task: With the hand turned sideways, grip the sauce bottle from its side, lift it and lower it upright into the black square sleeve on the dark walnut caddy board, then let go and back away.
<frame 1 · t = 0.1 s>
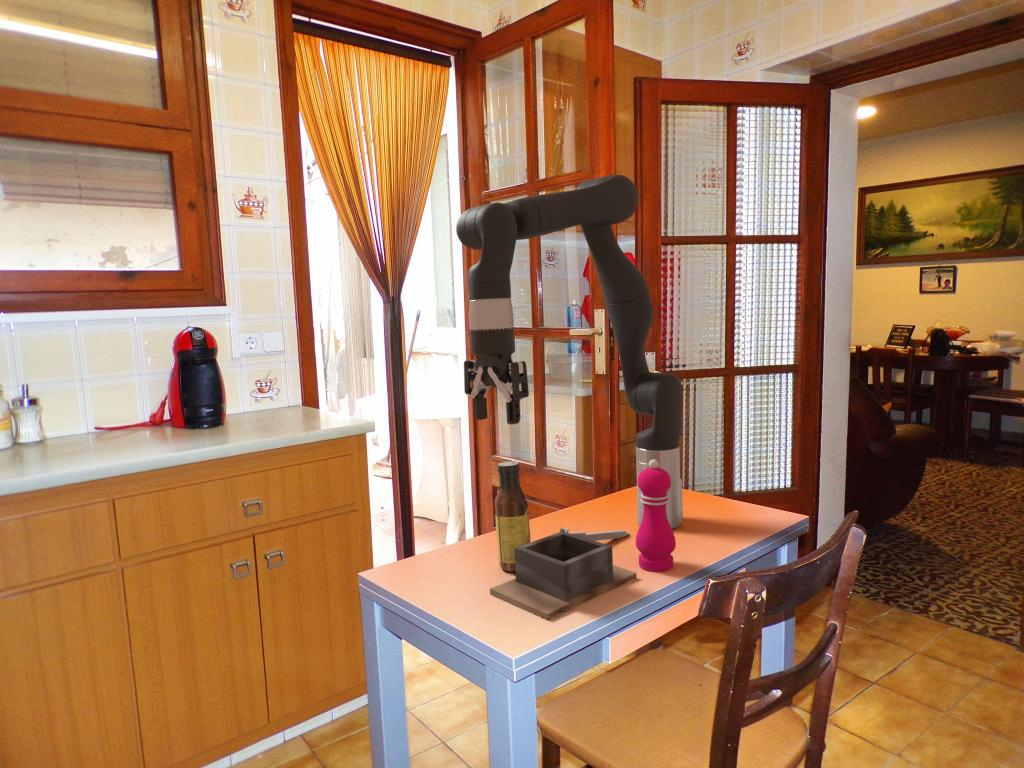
hand: (497, 421, 115), 29 cm above the table, tool pointing down, fingers open, 8 cm apart
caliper: (594, 548, 135), on the table
sauce bottle: (514, 568, 127), on the table
pepper mill: (656, 566, 124), on the table
bottle caddy: (564, 586, 117), on the table
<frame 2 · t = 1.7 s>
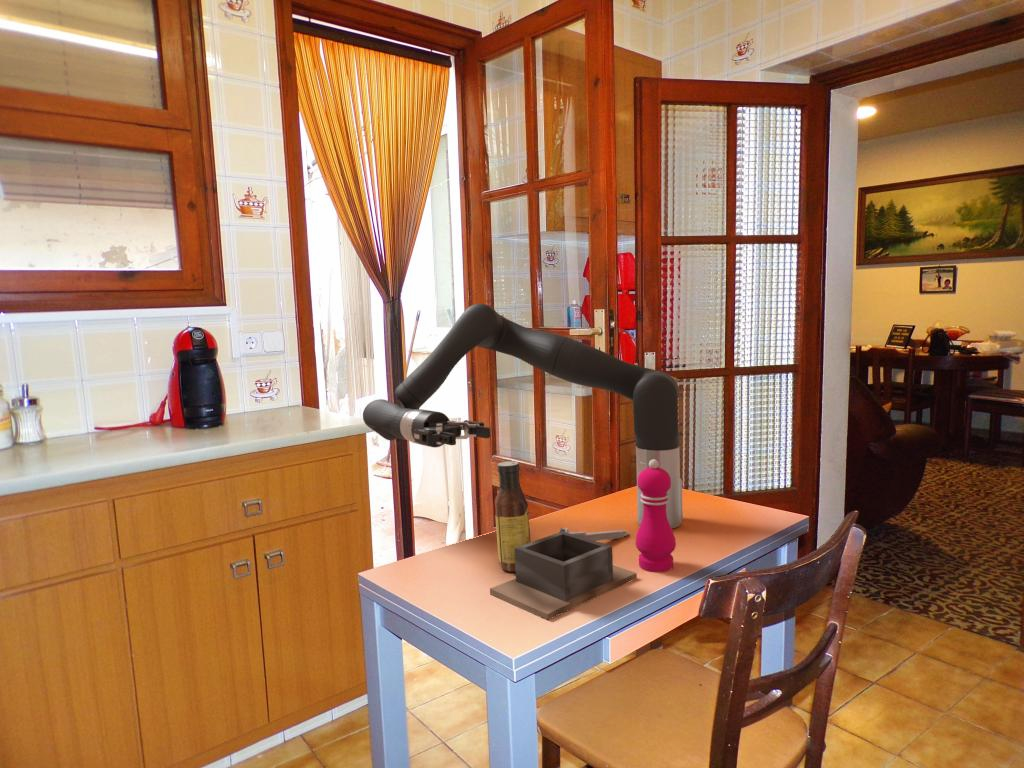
hand: (472, 436, 132), 24 cm above the table, tool horizontal, fingers open, 8 cm apart
nothing on the table moved.
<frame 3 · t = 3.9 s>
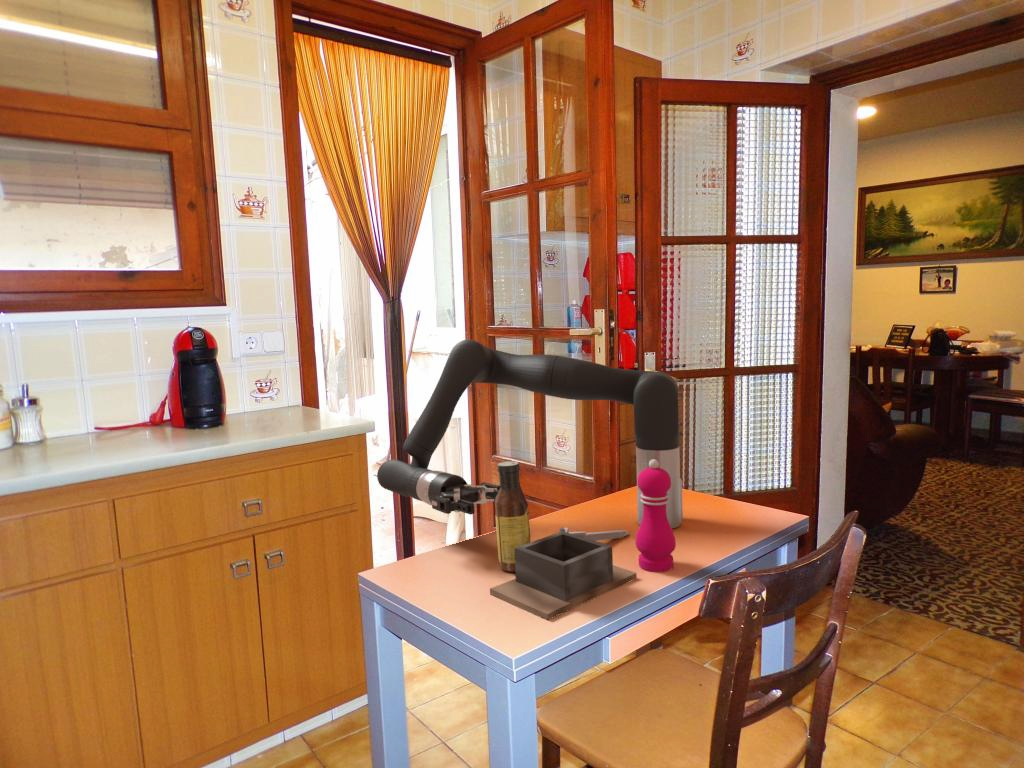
hand: (490, 503, 130), 11 cm above the table, tool horizontal, fingers open, 8 cm apart
nothing on the table moved.
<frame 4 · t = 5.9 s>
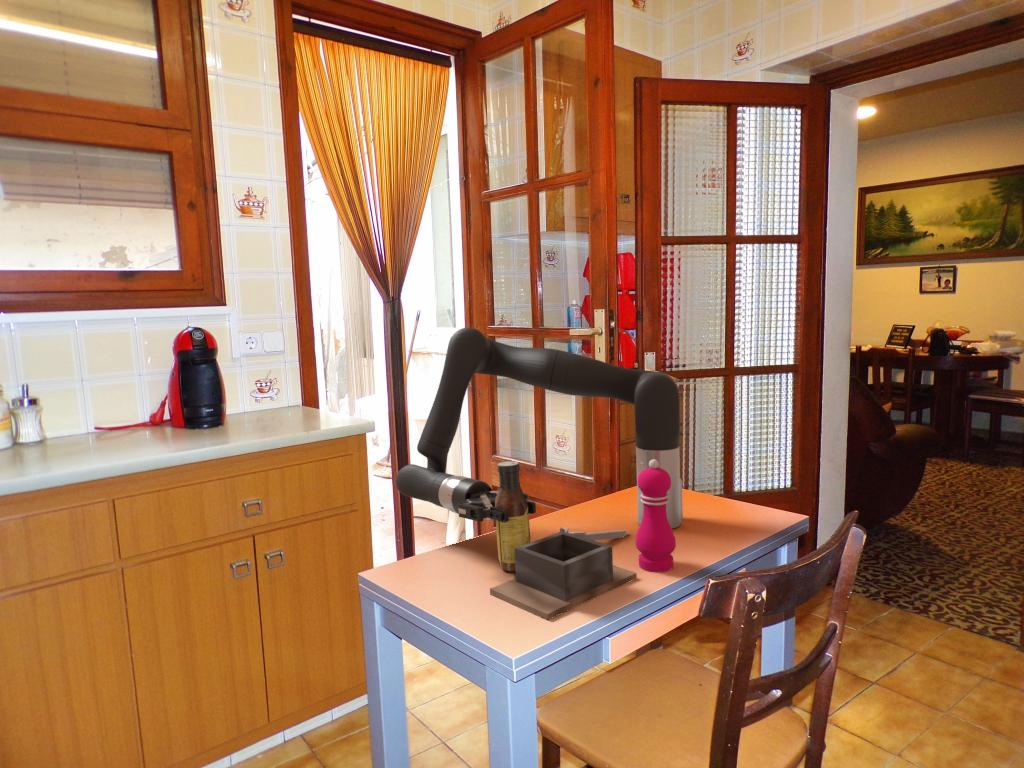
hand: (520, 512, 124), 11 cm above the table, tool horizontal, fingers closed on sauce bottle, 6 cm apart
sauce bottle: (514, 567, 127), on the table, touching gripper
everything else where it was.
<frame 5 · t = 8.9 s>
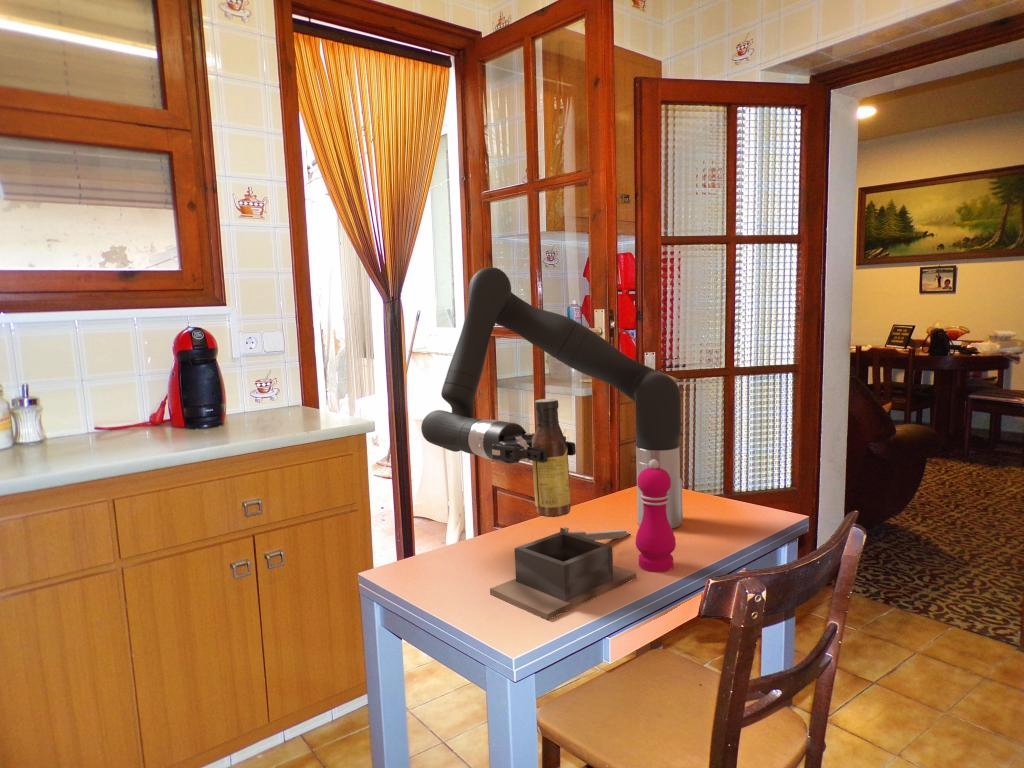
hand: (560, 452, 114), 24 cm above the table, tool horizontal, fingers closed on sauce bottle, 6 cm apart
sauce bottle: (552, 514, 117), point 12 cm above the table, touching gripper
everything else where it was.
when the fingers open (13 cm above the table, at t = 12.2 s): sauce bottle drops 1 cm, resting on bottle caddy.
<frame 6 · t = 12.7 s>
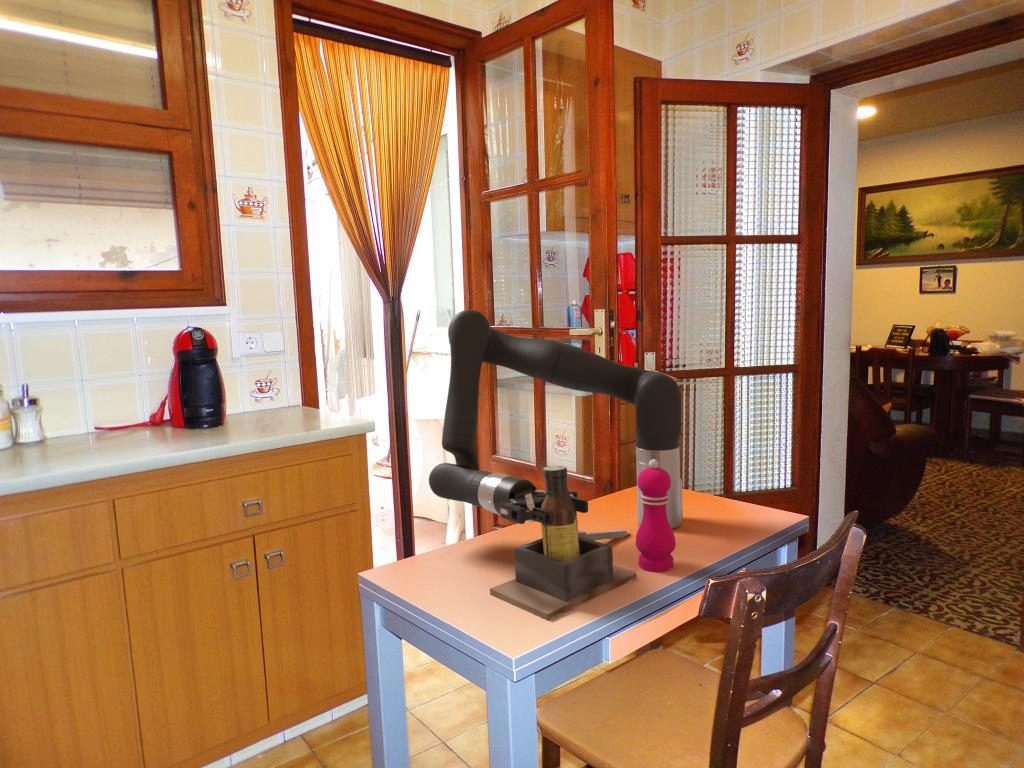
hand: (569, 512, 114), 14 cm above the table, tool horizontal, fingers open, 8 cm apart
sauce bottle: (563, 581, 117), point 1 cm above the table, touching bottle caddy
everything else where it was.
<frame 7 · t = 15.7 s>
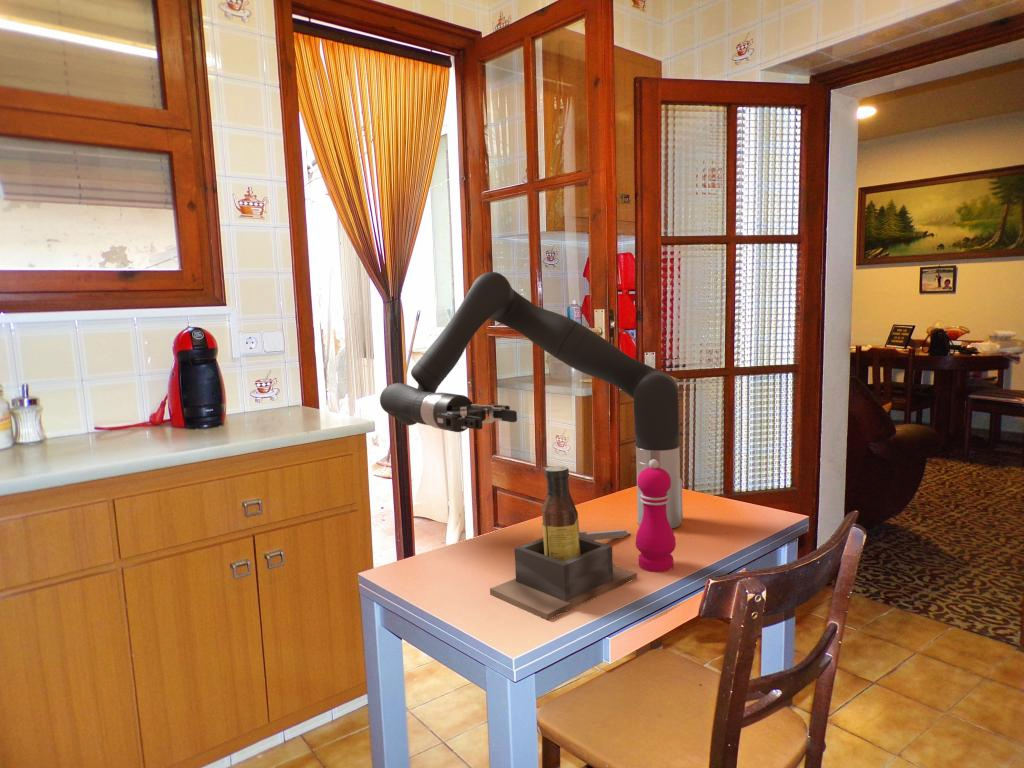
hand: (498, 420, 126), 28 cm above the table, tool horizontal, fingers open, 8 cm apart
nothing on the table moved.
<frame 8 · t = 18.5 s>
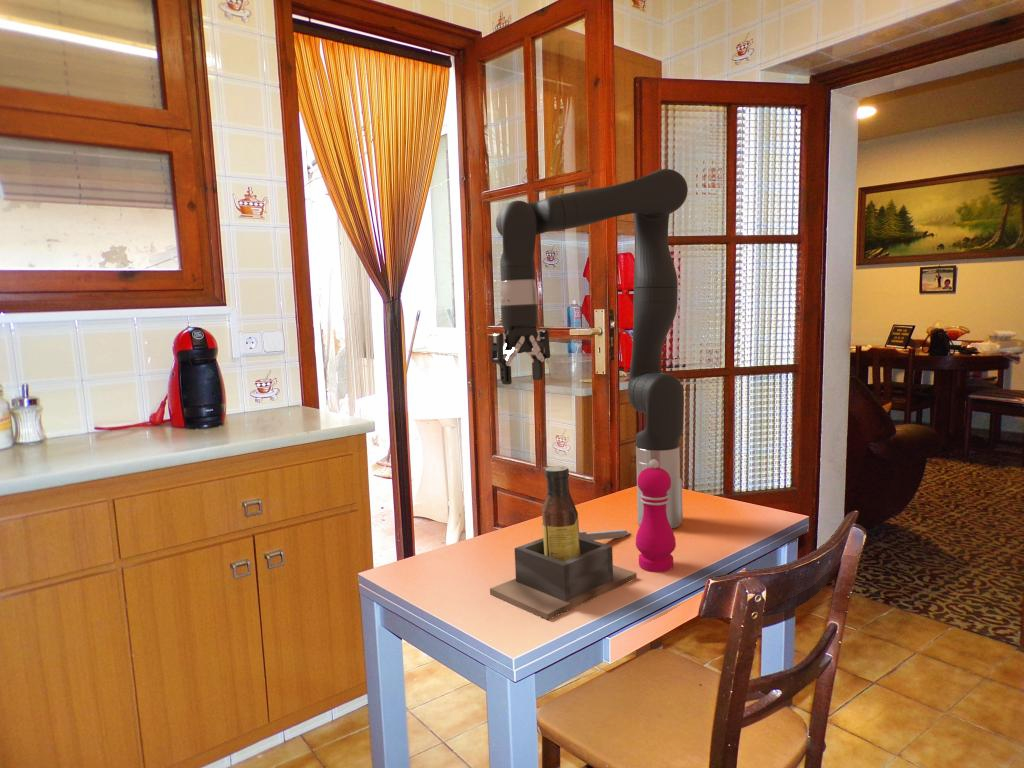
hand: (522, 382, 139), 33 cm above the table, tool pointing down, fingers open, 8 cm apart
nothing on the table moved.
at the end: sauce bottle 0.2 cm off-centre on the bottle caddy, point 0.8 cm above the bottle caddy's base; sauce bottle tilted 0°; the gripper is holding nothing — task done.
